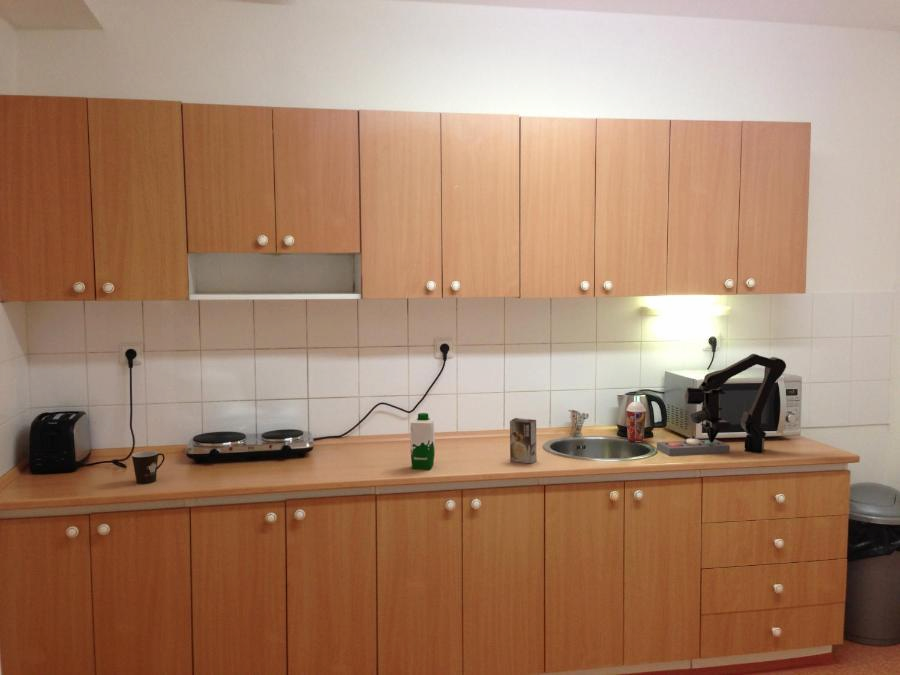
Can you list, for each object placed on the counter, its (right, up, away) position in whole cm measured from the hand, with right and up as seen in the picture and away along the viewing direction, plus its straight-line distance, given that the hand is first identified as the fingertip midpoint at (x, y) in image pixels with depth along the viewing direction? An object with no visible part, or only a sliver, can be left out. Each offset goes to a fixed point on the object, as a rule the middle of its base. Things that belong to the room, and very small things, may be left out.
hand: (711, 442), depth 289 cm
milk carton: (-117, -7, -22) cm, 119 cm away
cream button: (-8, -1, -1) cm, 8 cm away
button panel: (-8, -4, -1) cm, 9 cm away
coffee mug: (-214, -9, -37) cm, 217 cm away
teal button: (0, -2, 0) cm, 2 cm away
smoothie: (-26, -2, +18) cm, 32 cm away
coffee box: (-78, -5, -14) cm, 80 cm away
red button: (-16, -3, -2) cm, 16 cm away
